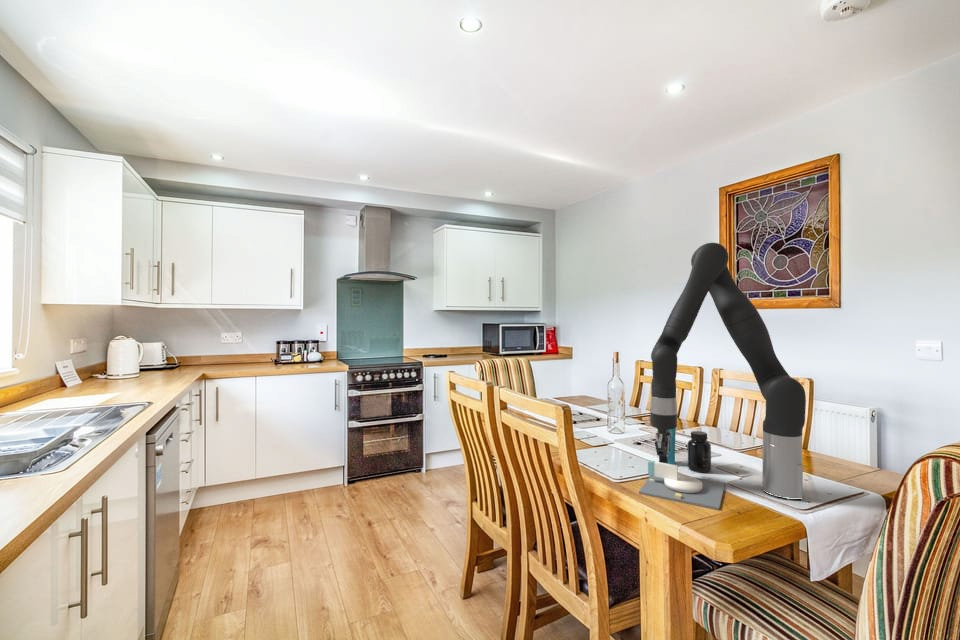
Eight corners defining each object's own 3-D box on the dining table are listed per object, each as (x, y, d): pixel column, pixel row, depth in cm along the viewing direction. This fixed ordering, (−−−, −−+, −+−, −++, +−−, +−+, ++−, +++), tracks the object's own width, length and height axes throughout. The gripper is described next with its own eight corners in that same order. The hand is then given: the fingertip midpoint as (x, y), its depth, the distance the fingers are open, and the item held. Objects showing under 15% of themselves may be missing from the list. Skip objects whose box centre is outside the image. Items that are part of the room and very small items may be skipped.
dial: (704, 483, 132) (704, 464, 132) (700, 495, 123) (700, 475, 123) (652, 474, 139) (652, 456, 139) (644, 485, 131) (644, 465, 131)
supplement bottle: (708, 467, 148) (708, 430, 148) (713, 474, 142) (713, 436, 141) (685, 465, 150) (686, 429, 150) (689, 472, 144) (689, 434, 143)
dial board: (724, 484, 133) (724, 479, 133) (719, 510, 116) (719, 504, 116) (653, 472, 144) (653, 467, 144) (639, 493, 127) (639, 488, 127)
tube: (680, 464, 151) (681, 407, 150) (673, 467, 148) (673, 409, 147) (660, 459, 156) (660, 404, 156) (652, 462, 153) (652, 405, 153)
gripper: (672, 417, 129) (672, 477, 129) (680, 408, 140) (680, 464, 140) (645, 414, 133) (645, 472, 133) (655, 405, 144) (655, 459, 144)
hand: (663, 467), depth 137 cm, fingers closed
